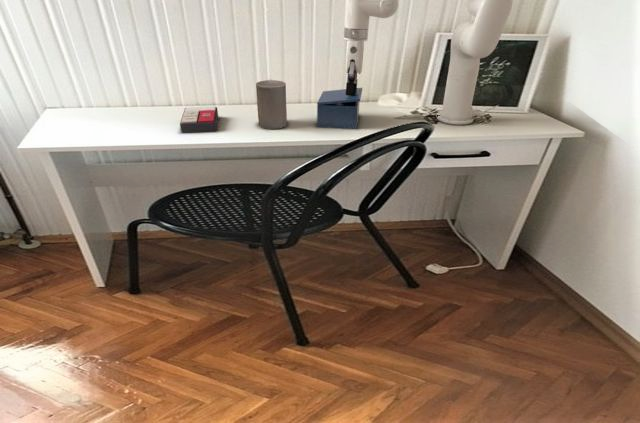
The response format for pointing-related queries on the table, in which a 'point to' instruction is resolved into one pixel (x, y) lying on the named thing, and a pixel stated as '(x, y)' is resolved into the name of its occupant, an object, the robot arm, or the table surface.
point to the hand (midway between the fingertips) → (351, 92)
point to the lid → (338, 96)
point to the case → (338, 115)
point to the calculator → (199, 119)
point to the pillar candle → (271, 104)
